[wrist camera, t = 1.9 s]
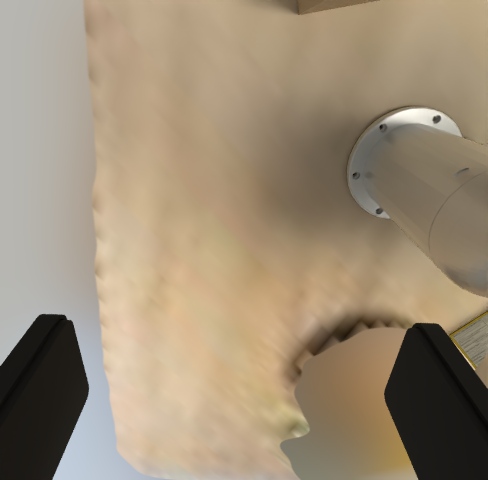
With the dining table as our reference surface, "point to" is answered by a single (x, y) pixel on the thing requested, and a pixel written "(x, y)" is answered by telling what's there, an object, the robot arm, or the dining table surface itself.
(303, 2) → the carton
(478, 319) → the candy box
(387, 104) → the dining table surface
